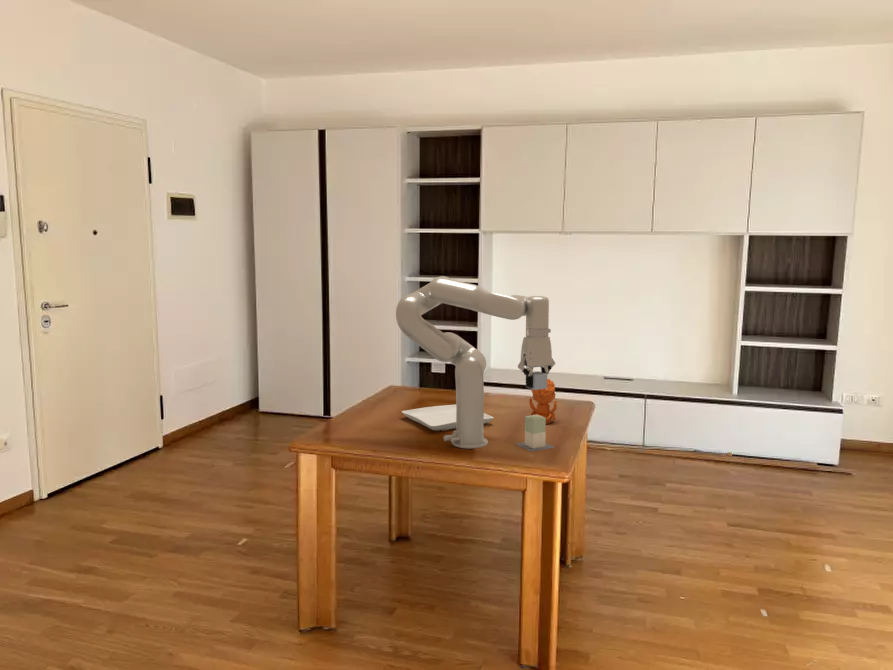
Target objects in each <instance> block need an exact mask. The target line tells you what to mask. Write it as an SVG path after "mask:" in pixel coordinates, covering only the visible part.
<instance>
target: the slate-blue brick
mask: <svg viewBox="0 0 893 670" xmlns="http://www.w3.org/2000/svg"><path fill="white" fill-rule="evenodd" d="M532 376H533V388H529V387H526V388H528V389H530V390H532V389H533V390H539V389H547V379H548V374H546V373H542V372H541V371H538V370H537V371H533V372H532Z"/></svg>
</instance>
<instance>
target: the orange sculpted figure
mask: <svg viewBox="0 0 893 670" xmlns="http://www.w3.org/2000/svg"><path fill="white" fill-rule="evenodd" d="M530 390H531V393H532V397H530V398H529V402H528V403H529V408H530V409H531V410H532V411H531V413H530V416H531V415H539V416H542V417H545V418H546V425H549V424H550V423H551V422H552V421H555V420H556V413H555V411H556V410H557V407H558V405H557V400H555V399H556V384H555V382H554V381H553V380H551V379H550V378H547V389H539V390H533V389H530ZM554 400H555V401H554ZM533 401H535V402H536V403H537V405H536V406H535V405H534V403H533ZM553 401H554V402H553ZM551 402H553V407H552V409H550V407H551V406H550V404H549V403H551ZM548 423H549V424H548Z"/></svg>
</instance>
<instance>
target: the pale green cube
mask: <svg viewBox="0 0 893 670" xmlns="http://www.w3.org/2000/svg"><path fill="white" fill-rule="evenodd" d="M546 425H547V424H546V418H545V417H542V416H539V415H531V414H530V415H525V416H524V432H525V431H527V432H530V433H532V434H537V433H543V432H546Z"/></svg>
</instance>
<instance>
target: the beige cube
mask: <svg viewBox="0 0 893 670" xmlns="http://www.w3.org/2000/svg"><path fill="white" fill-rule="evenodd" d="M524 442H525V445H527V446H529V447H531V448H539V447H545V443H546V431H545V432H543V433H537V434H532V433H530V432H527V431H525V430H524Z"/></svg>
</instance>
